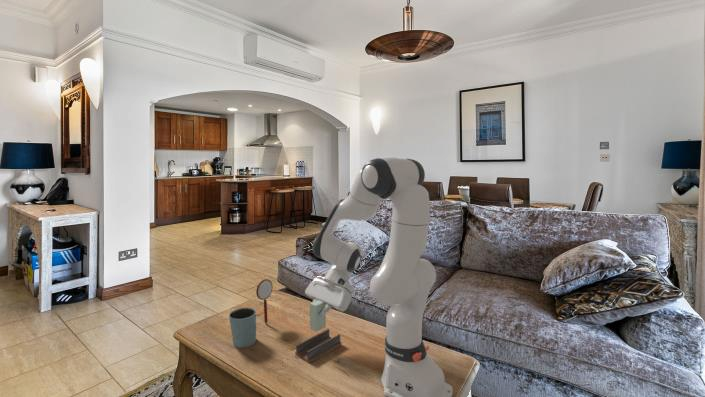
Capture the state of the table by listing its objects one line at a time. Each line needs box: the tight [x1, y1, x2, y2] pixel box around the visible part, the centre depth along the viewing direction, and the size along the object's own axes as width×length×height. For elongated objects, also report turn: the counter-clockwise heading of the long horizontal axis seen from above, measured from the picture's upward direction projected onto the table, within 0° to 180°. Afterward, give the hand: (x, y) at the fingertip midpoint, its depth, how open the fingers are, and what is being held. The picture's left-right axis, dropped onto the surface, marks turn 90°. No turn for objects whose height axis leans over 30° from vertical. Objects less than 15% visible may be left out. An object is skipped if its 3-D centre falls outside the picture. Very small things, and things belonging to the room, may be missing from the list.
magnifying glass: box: [255, 278, 273, 325], centre depth 150 cm, size 9×2×20 cm, turn 146°
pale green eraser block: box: [309, 300, 327, 333], centre depth 130 cm, size 3×5×10 cm, turn 137°
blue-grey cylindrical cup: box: [228, 307, 257, 349], centre depth 137 cm, size 10×10×12 cm
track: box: [294, 328, 342, 364], centre depth 131 cm, size 8×16×4 cm, turn 137°
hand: (316, 313), depth 129 cm, fingers closed on pale green eraser block, 3 cm apart
